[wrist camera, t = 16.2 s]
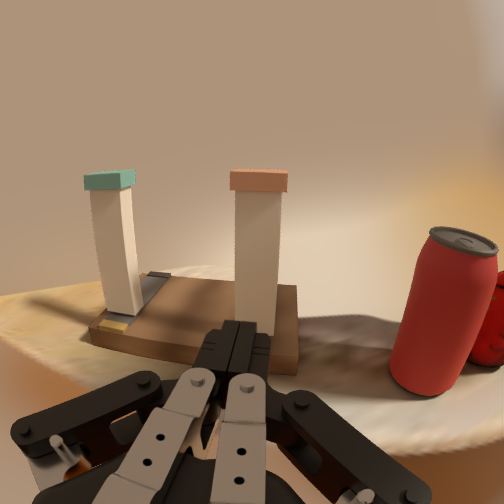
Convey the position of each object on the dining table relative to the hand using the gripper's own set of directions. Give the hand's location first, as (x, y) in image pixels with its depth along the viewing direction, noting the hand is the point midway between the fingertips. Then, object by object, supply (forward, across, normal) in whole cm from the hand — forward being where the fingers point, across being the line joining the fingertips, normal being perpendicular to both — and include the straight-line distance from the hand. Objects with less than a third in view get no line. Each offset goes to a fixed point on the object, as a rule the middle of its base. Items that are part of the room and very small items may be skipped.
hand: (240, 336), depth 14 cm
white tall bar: (+9, 0, +5) cm, 10 cm away
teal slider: (+9, +12, +5) cm, 16 cm away
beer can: (+6, -14, +8) cm, 18 cm away
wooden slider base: (+12, +6, +8) cm, 15 cm away
